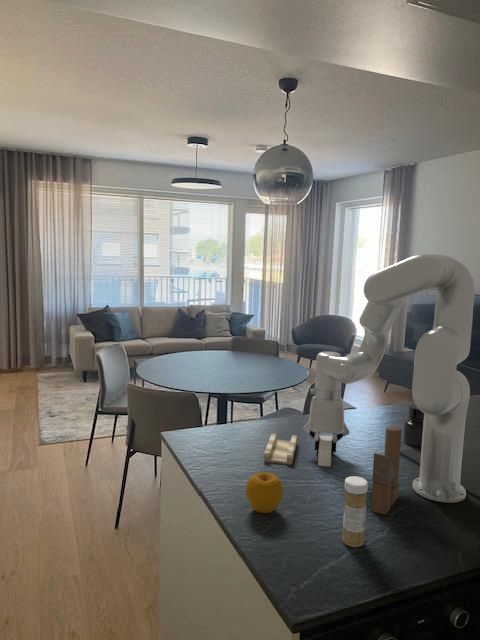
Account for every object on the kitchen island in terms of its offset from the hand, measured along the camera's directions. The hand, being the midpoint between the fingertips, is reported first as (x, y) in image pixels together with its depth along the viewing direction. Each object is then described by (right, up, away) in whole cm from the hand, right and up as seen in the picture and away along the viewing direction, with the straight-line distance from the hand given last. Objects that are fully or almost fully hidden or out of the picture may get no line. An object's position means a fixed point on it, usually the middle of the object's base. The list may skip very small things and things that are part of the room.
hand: (325, 452), depth 145 cm
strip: (-1, -1, -3) cm, 3 cm away
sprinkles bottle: (-2, -6, -45) cm, 46 cm away
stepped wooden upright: (+9, -5, -29) cm, 31 cm away
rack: (-13, 0, +1) cm, 13 cm away
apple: (-20, -5, -33) cm, 39 cm away
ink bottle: (+32, 0, +11) cm, 34 cm away
